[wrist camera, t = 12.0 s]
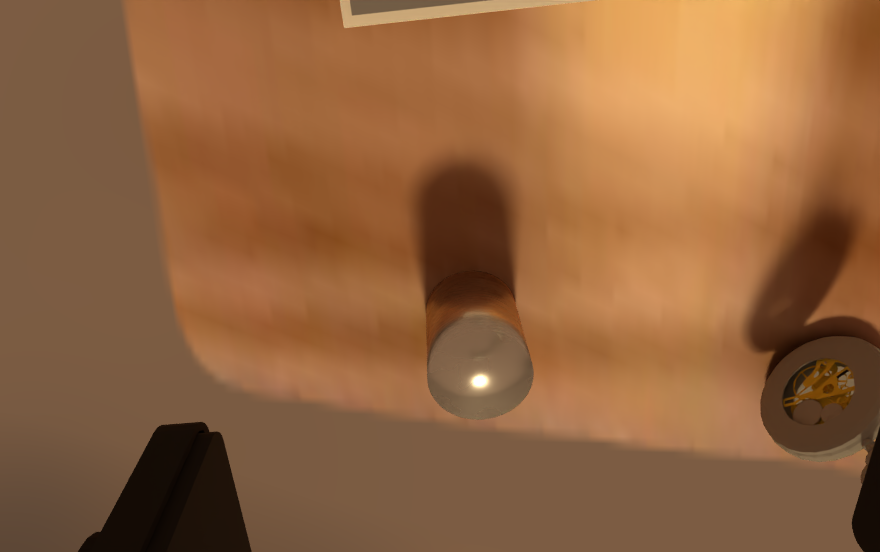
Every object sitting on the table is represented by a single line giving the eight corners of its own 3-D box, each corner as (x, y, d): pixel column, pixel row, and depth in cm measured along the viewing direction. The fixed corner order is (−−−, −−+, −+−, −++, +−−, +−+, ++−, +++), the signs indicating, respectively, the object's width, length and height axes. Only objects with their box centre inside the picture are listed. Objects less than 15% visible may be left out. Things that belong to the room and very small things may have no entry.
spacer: (513, 266, 33) (531, 326, 28) (517, 344, 36) (535, 414, 30) (421, 276, 33) (421, 337, 28) (431, 353, 36) (433, 424, 30)
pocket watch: (856, 426, 39) (987, 568, 30) (720, 422, 38) (811, 565, 30) (908, 308, 35) (1075, 430, 26) (759, 302, 35) (876, 424, 26)
